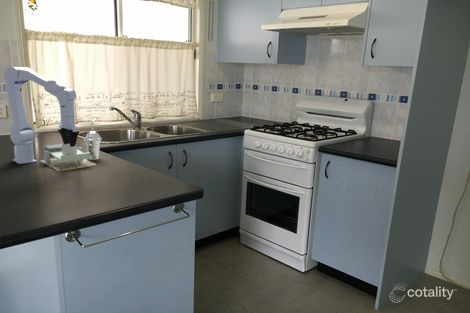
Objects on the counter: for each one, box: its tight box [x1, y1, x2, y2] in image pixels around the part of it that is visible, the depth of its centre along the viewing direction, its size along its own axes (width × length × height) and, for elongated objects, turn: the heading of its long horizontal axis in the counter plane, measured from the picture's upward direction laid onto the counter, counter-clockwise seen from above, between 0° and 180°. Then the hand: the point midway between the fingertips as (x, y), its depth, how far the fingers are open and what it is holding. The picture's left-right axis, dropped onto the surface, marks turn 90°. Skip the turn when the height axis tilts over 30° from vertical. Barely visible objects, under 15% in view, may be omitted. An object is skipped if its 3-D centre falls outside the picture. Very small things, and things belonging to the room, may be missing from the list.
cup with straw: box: [83, 117, 103, 161], centre depth 190 cm, size 8×9×20 cm
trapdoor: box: [44, 143, 90, 162], centre depth 181 cm, size 21×13×4 cm, turn 45°
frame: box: [39, 146, 97, 172], centre depth 181 cm, size 22×18×6 cm
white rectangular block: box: [61, 143, 77, 156], centre depth 175 cm, size 4×5×6 cm
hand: (69, 145), depth 175 cm, fingers open, 6 cm apart
